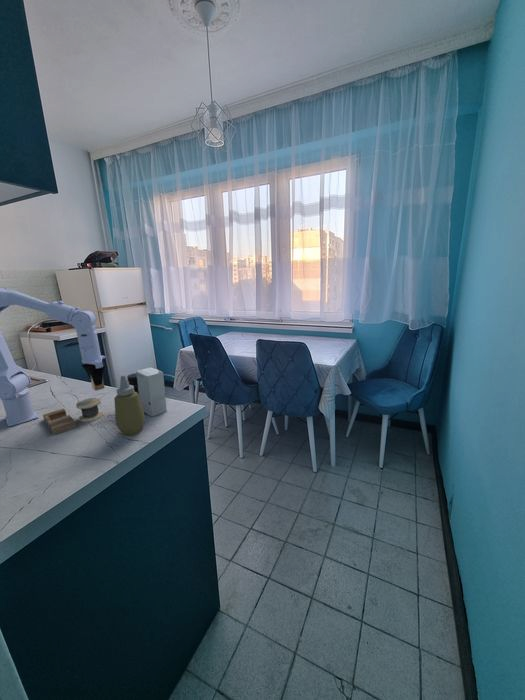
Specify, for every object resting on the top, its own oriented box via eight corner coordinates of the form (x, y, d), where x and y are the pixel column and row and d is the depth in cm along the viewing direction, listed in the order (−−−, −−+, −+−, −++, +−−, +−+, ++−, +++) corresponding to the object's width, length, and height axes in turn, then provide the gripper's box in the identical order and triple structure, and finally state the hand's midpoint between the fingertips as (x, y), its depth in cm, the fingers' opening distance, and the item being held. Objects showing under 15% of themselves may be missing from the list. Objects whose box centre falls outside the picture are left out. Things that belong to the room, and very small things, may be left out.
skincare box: (140, 410, 102) (134, 370, 98) (156, 404, 106) (150, 366, 102) (152, 417, 97) (146, 375, 93) (168, 410, 101) (163, 370, 97)
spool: (76, 417, 99) (73, 402, 97) (99, 410, 103) (96, 396, 102) (83, 424, 94) (79, 408, 92) (106, 416, 99) (103, 401, 97)
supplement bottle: (141, 411, 102) (136, 379, 98) (124, 409, 103) (119, 378, 100) (152, 402, 108) (148, 372, 105) (136, 401, 109) (131, 371, 106)
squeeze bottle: (113, 432, 88) (103, 377, 84) (139, 422, 94) (131, 369, 89) (124, 441, 83) (113, 383, 78) (151, 430, 89) (142, 375, 84)
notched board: (44, 419, 98) (42, 414, 97) (64, 413, 102) (63, 408, 101) (53, 434, 88) (52, 428, 88) (76, 426, 92) (74, 421, 92)
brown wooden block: (92, 388, 102) (89, 373, 101) (101, 386, 104) (99, 371, 103) (95, 390, 100) (92, 375, 99) (104, 388, 102) (102, 373, 101)
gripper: (109, 346, 96) (116, 385, 99) (95, 341, 106) (102, 375, 109) (85, 351, 91) (94, 391, 94) (73, 344, 101) (81, 381, 104)
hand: (96, 383), depth 101 cm, fingers closed on brown wooden block, 3 cm apart
